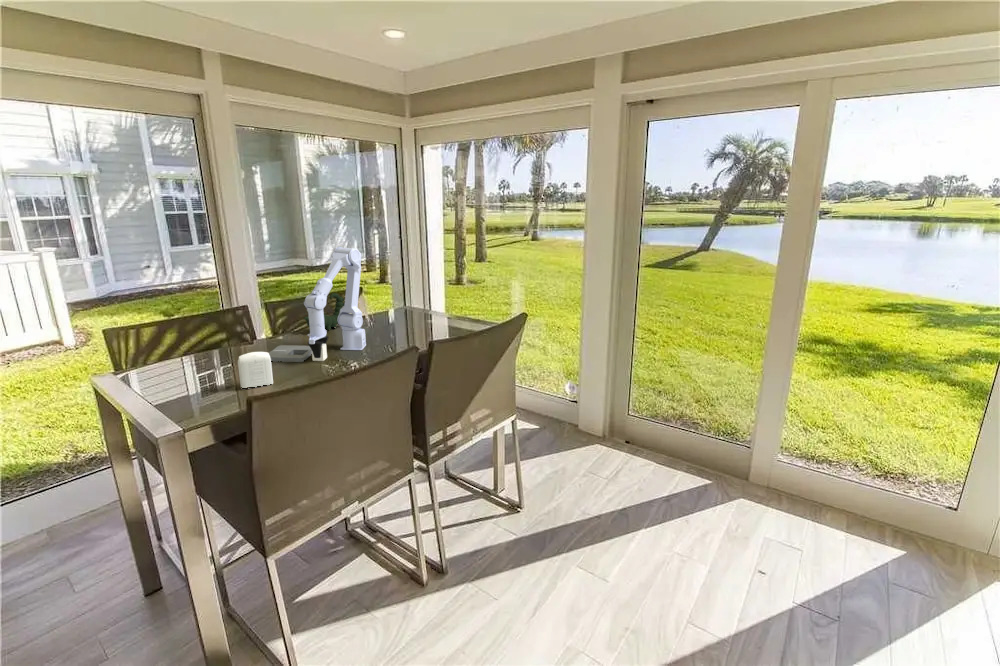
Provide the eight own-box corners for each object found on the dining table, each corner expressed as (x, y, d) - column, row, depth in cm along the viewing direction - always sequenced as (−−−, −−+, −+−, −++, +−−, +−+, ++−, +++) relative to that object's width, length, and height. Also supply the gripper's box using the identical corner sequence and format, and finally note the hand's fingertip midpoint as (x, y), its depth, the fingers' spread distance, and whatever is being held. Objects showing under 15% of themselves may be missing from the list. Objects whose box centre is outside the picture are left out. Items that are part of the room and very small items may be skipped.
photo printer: (272, 381, 167) (268, 348, 164) (274, 385, 164) (270, 351, 160) (240, 386, 162) (235, 353, 158) (241, 390, 158) (236, 356, 155)
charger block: (327, 357, 193) (325, 342, 191) (323, 360, 189) (322, 345, 187) (316, 357, 193) (315, 342, 191) (312, 360, 189) (311, 345, 187)
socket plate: (317, 349, 202) (316, 345, 202) (302, 362, 187) (302, 357, 186) (280, 349, 202) (279, 344, 201) (262, 361, 186) (262, 356, 186)
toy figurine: (335, 326, 245) (297, 334, 222) (335, 291, 241) (296, 295, 219) (349, 329, 241) (311, 336, 219) (349, 293, 237) (310, 297, 215)
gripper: (313, 319, 194) (316, 350, 197) (299, 328, 180) (303, 361, 183) (330, 319, 194) (332, 350, 197) (318, 328, 180) (320, 361, 184)
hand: (319, 355), depth 190 cm, fingers closed on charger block, 4 cm apart
